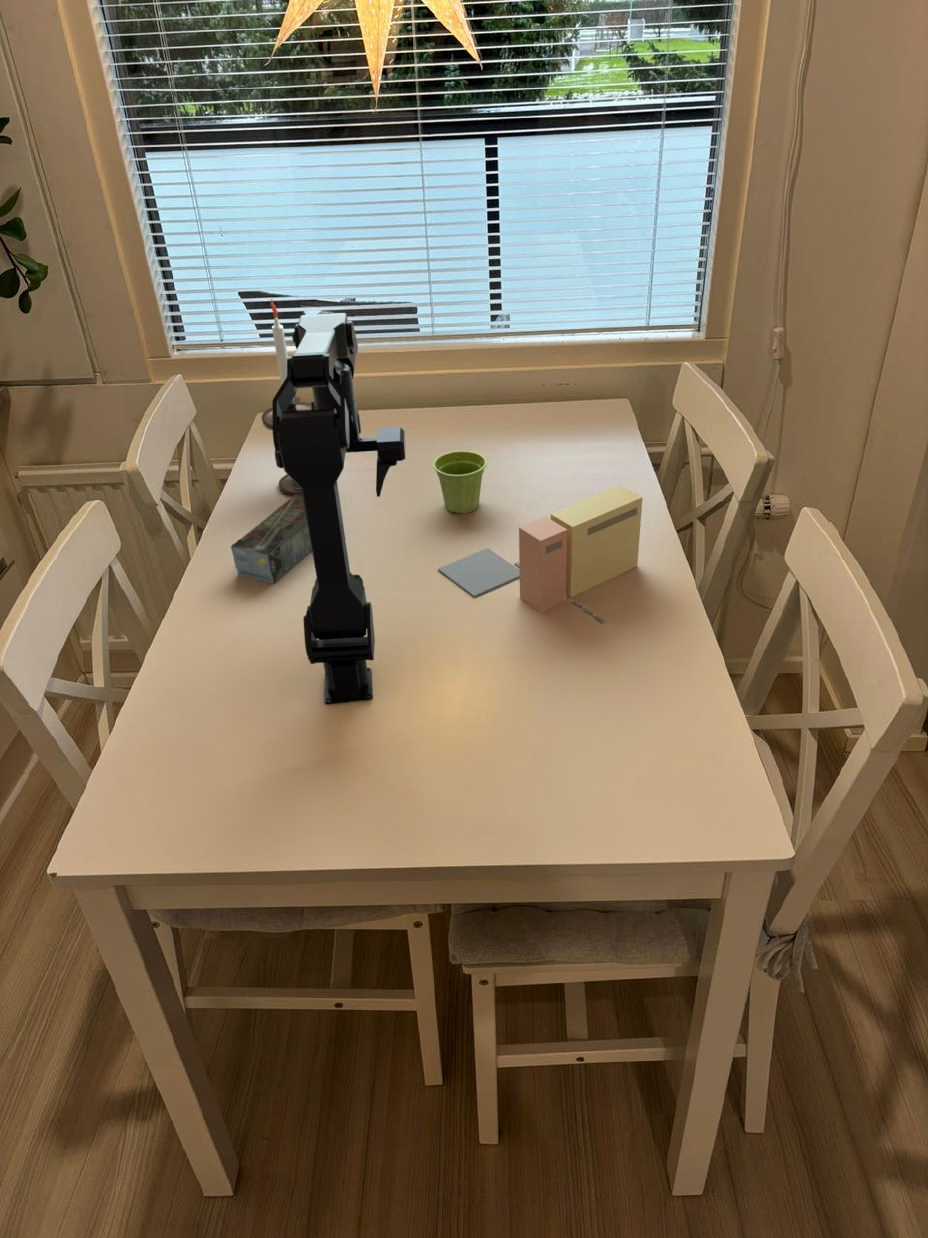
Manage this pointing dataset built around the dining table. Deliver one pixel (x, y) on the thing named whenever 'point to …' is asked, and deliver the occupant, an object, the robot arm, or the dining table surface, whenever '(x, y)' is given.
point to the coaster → (480, 572)
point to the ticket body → (600, 537)
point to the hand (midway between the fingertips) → (348, 497)
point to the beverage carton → (274, 543)
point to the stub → (542, 563)
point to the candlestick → (287, 482)
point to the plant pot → (460, 479)
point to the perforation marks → (581, 606)
